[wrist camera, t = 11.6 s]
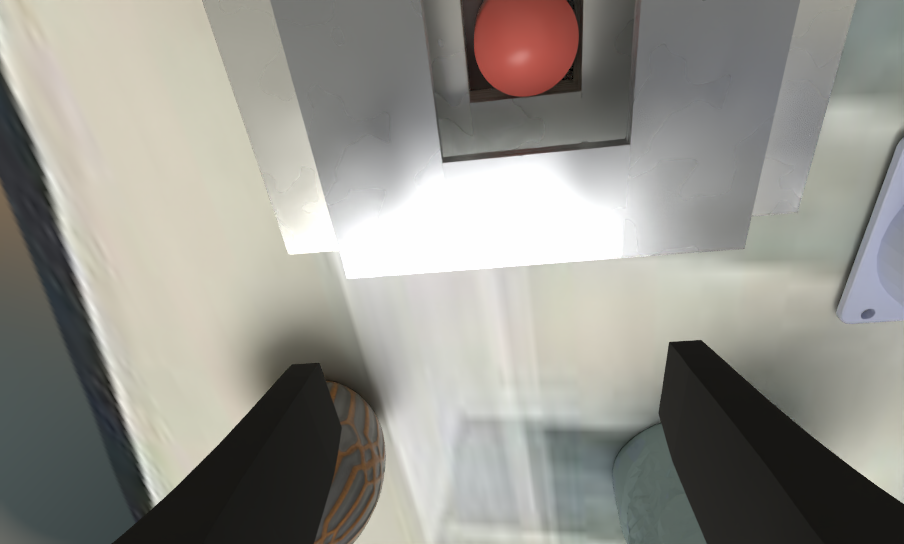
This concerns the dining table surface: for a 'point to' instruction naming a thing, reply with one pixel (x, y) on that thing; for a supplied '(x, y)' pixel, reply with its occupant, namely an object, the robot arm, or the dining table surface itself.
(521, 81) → the button
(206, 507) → the robot arm
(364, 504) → the vase
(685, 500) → the green cylindrical pot
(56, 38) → the dining table surface
